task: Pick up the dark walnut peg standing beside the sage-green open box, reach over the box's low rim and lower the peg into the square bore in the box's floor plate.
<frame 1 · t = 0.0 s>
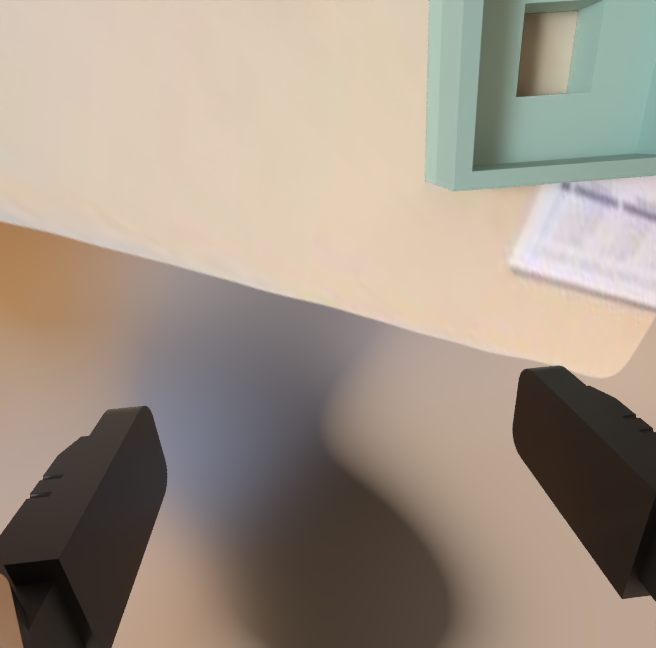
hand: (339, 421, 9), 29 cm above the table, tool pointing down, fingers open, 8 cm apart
bore box: (537, 56, 33), on the table
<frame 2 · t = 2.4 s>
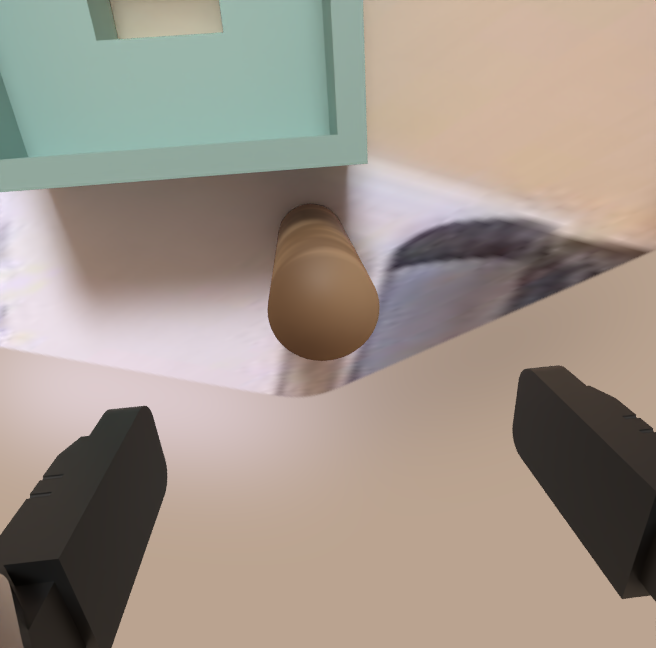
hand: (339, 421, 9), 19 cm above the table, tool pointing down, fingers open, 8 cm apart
walnut peg: (311, 237, 26), on the table
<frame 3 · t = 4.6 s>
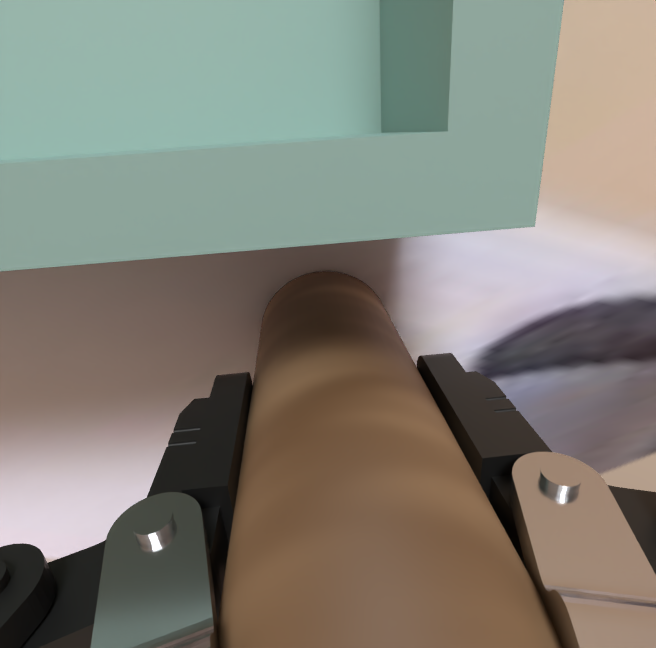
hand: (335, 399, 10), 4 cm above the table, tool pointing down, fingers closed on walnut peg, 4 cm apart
walnut peg: (325, 332, 14), on the table, touching gripper
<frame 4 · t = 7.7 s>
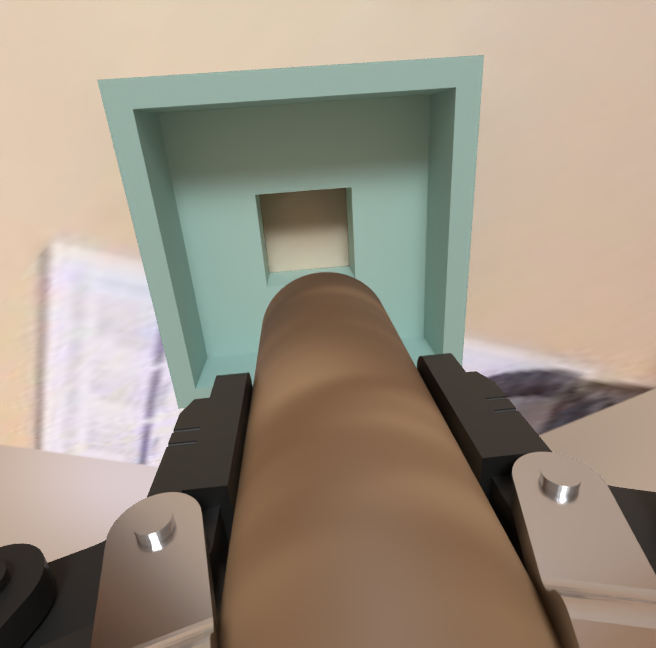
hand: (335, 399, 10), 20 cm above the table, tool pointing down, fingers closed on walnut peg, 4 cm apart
bore box: (306, 229, 29), on the table
walnut peg: (325, 332, 14), point 17 cm above the table, touching gripper
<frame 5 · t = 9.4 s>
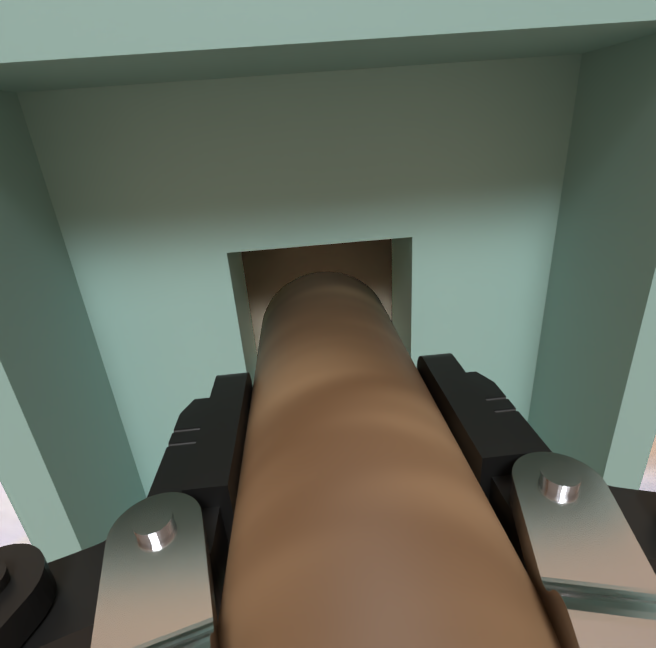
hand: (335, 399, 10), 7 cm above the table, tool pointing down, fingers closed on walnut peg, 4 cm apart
bore box: (321, 297, 17), on the table
walnut peg: (325, 332, 14), point 3 cm above the table, touching gripper
when the fingers open (5 cm above the table, at t = 10.6 s): walnut peg stays where it is, resting in bore box.
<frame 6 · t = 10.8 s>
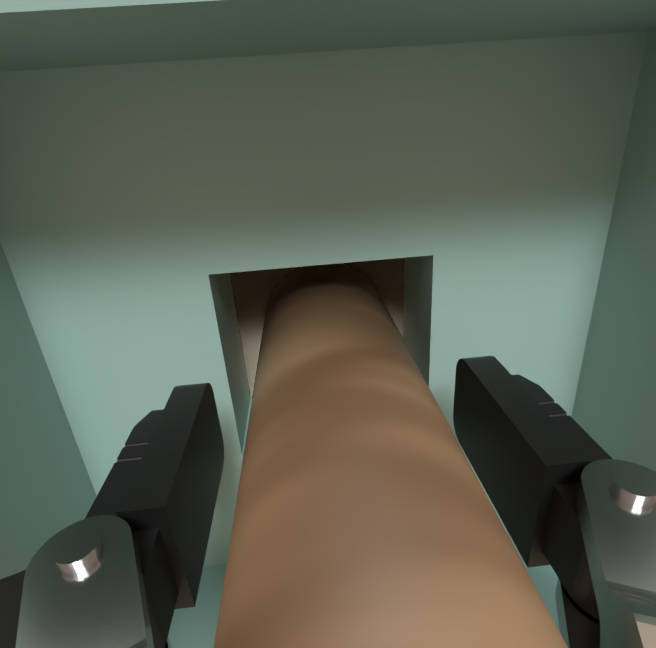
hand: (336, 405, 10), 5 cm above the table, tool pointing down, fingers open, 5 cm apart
bore box: (322, 320, 15), on the table
walnut peg: (325, 319, 15), resting in bore box
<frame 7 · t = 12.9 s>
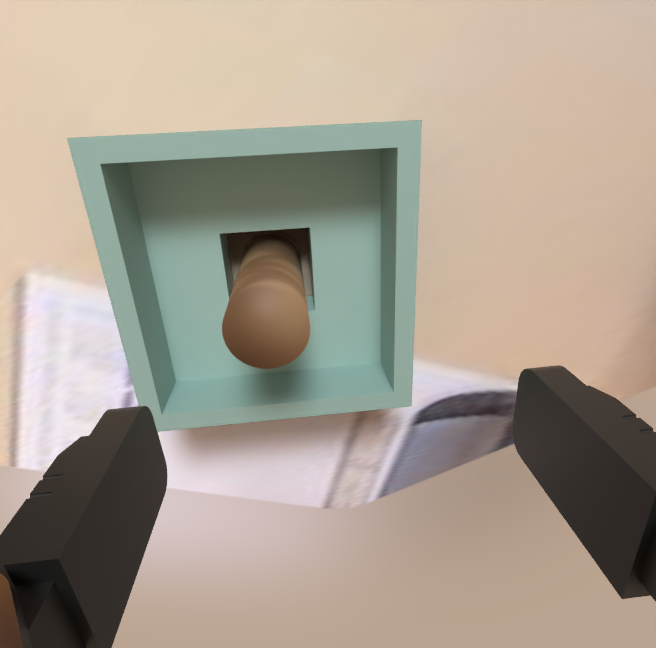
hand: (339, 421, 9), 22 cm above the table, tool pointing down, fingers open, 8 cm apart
bore box: (270, 261, 31), on the table
walnut peg: (272, 261, 31), resting in bore box
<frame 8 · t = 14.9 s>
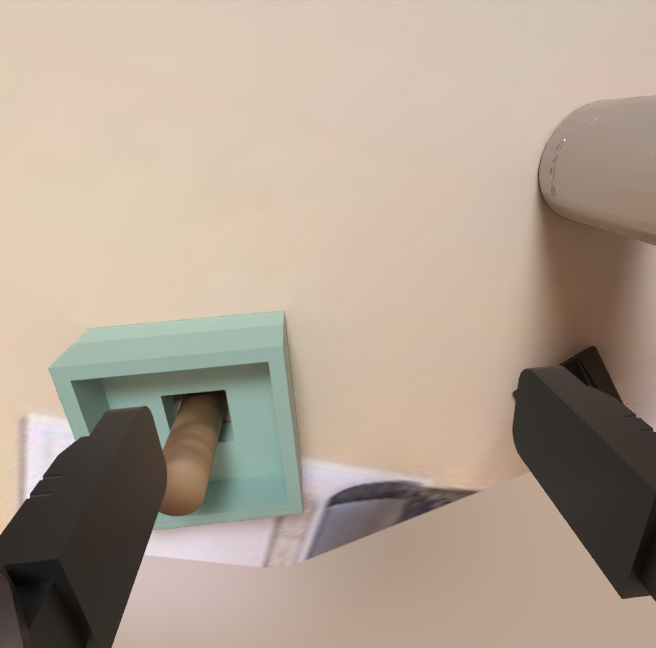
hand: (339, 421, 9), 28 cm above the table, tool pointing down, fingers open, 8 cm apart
phone stand: (561, 388, 45), on the table
bore box: (205, 400, 41), on the table
walnut peg: (206, 400, 41), resting in bore box
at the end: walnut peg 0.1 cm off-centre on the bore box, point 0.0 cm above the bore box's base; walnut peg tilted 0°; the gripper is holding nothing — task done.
